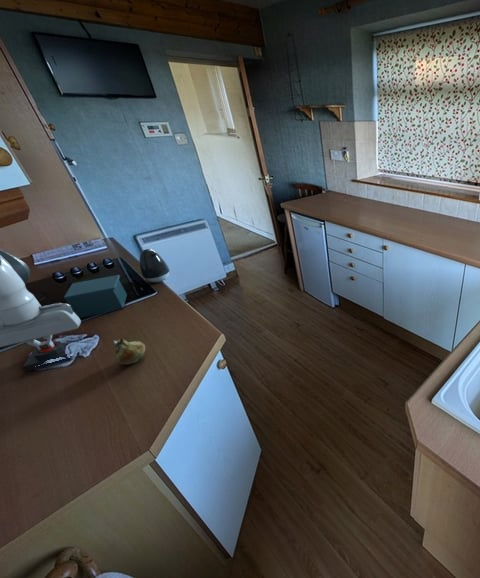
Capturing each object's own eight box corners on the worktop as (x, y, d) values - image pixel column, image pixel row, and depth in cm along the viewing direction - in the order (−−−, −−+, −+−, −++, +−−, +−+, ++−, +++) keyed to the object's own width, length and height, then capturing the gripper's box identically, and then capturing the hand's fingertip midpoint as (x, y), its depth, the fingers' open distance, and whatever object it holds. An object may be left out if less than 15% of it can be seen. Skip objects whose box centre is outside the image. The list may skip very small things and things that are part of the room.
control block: (27, 371, 88) (18, 362, 85) (37, 355, 93) (29, 346, 91) (71, 359, 92) (64, 350, 90) (78, 344, 98) (71, 335, 96)
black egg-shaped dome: (157, 287, 130) (142, 256, 122) (140, 282, 133) (125, 252, 125) (177, 276, 138) (165, 247, 130) (162, 273, 141) (149, 243, 133)
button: (39, 357, 89) (36, 353, 88) (43, 350, 92) (40, 346, 91) (55, 353, 91) (52, 349, 90) (59, 346, 94) (56, 342, 93)
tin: (127, 294, 124) (117, 276, 120) (123, 308, 116) (112, 289, 111) (85, 303, 118) (73, 285, 114) (77, 318, 110) (64, 299, 105)
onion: (116, 372, 88) (103, 353, 83) (123, 355, 94) (111, 336, 90) (146, 365, 90) (135, 345, 86) (151, 348, 97) (141, 330, 92)
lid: (120, 276, 120) (119, 274, 120) (115, 289, 112) (114, 287, 111) (73, 284, 114) (72, 283, 113) (64, 299, 105) (63, 297, 105)
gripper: (69, 296, 90) (92, 331, 97) (-28, 316, 81) (5, 352, 88) (63, 306, 86) (88, 342, 93) (-41, 328, 77) (-5, 366, 84)
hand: (47, 347), depth 91 cm, fingers closed, pressing on button
